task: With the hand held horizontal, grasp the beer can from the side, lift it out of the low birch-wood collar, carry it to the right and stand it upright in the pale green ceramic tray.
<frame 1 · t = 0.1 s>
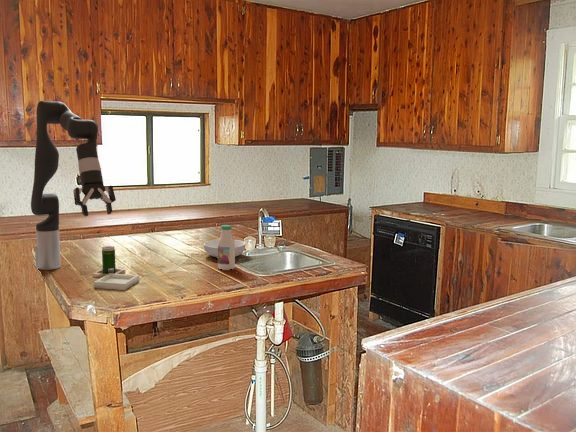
hand: (98, 214, 197), 31 cm above the counter, tool tilted 20°, fingers open, 8 cm apart
collar: (109, 274, 235), on the counter
serving bowl: (224, 256, 273), on the counter
tray: (117, 284, 221), on the counter
milk bottle: (226, 268, 250), on the counter
beer can: (109, 275, 235), resting in collar
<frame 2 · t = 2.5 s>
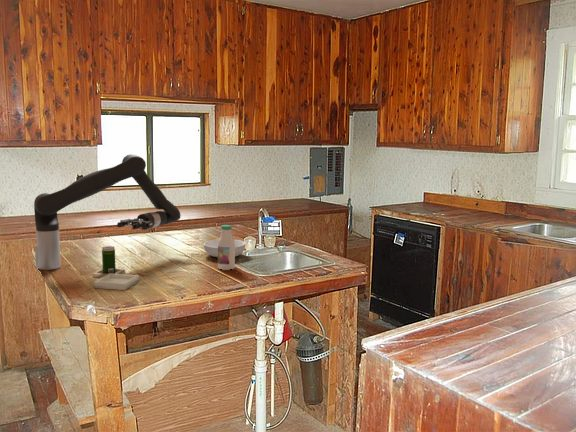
hand: (125, 226, 242), 20 cm above the counter, tool horizontal, fingers open, 8 cm apart
nothing on the counter moved.
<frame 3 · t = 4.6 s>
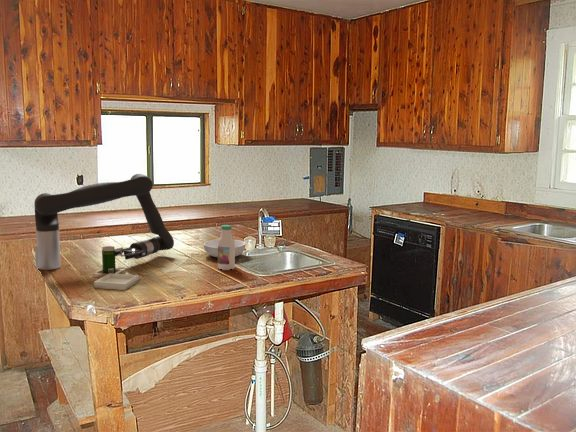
hand: (117, 256, 239), 7 cm above the counter, tool horizontal, fingers open, 8 cm apart
nothing on the counter moved.
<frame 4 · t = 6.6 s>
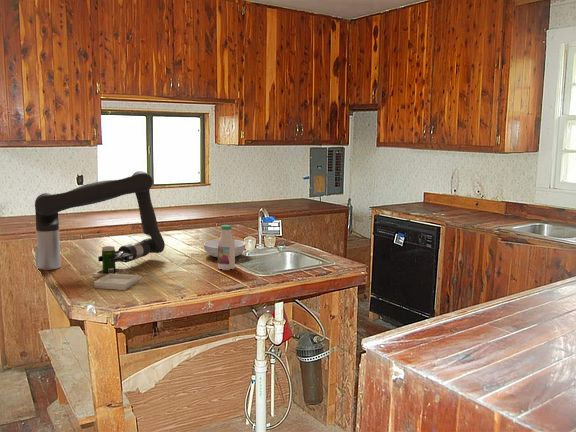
hand: (104, 260, 231), 7 cm above the counter, tool horizontal, fingers closed on beer can, 5 cm apart
beer can: (109, 275, 235), resting in collar, touching gripper
everything else where it was.
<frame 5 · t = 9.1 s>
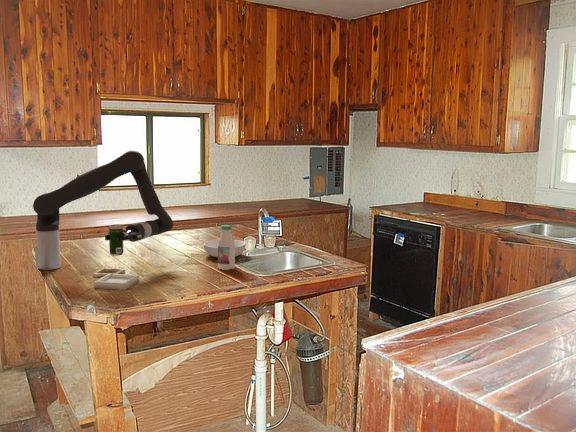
hand: (111, 238, 218), 19 cm above the counter, tool horizontal, fingers closed on beer can, 5 cm apart
beer can: (116, 254, 222), point 12 cm above the counter, touching gripper
everything else where it was.
when the fingers open (9 cm above the counter, at t = 11.6 s): beer can drops 1 cm, resting on tray.
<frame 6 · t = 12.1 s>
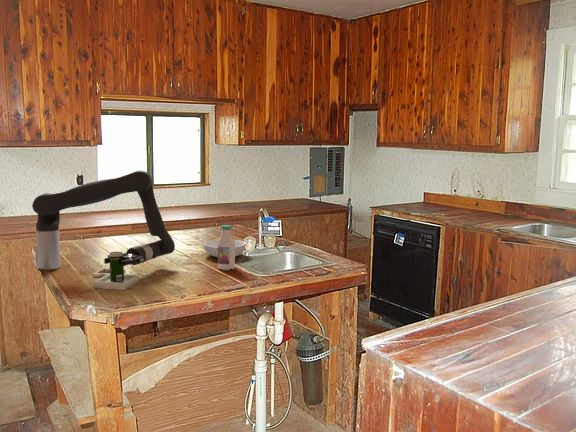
hand: (113, 262, 218), 9 cm above the counter, tool horizontal, fingers open, 8 cm apart
beer can: (117, 282, 221), point 1 cm above the counter, touching tray
everything else where it was.
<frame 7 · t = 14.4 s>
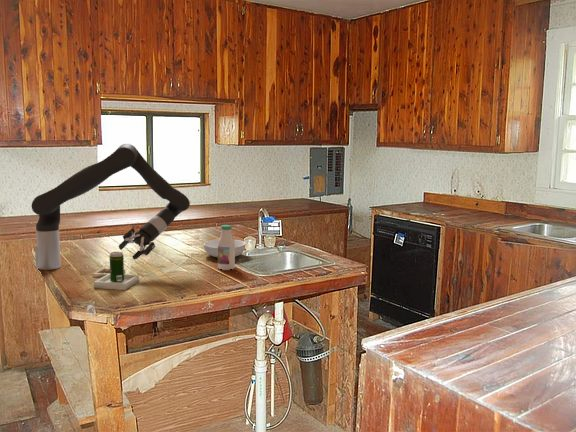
hand: (126, 253, 231), 10 cm above the counter, tool tilted 55°, fingers open, 8 cm apart
nothing on the counter moved.
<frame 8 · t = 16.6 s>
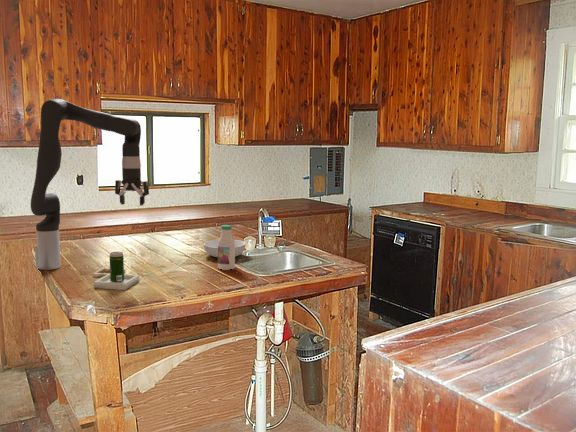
hand: (132, 204, 234), 30 cm above the counter, tool pointing down, fingers open, 8 cm apart
nothing on the counter moved.
at the end: beer can inside the target area on the tray (0.2 cm from its centre), point 0.8 cm above the tray's base; beer can tilted 0°; the gripper is holding nothing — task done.
